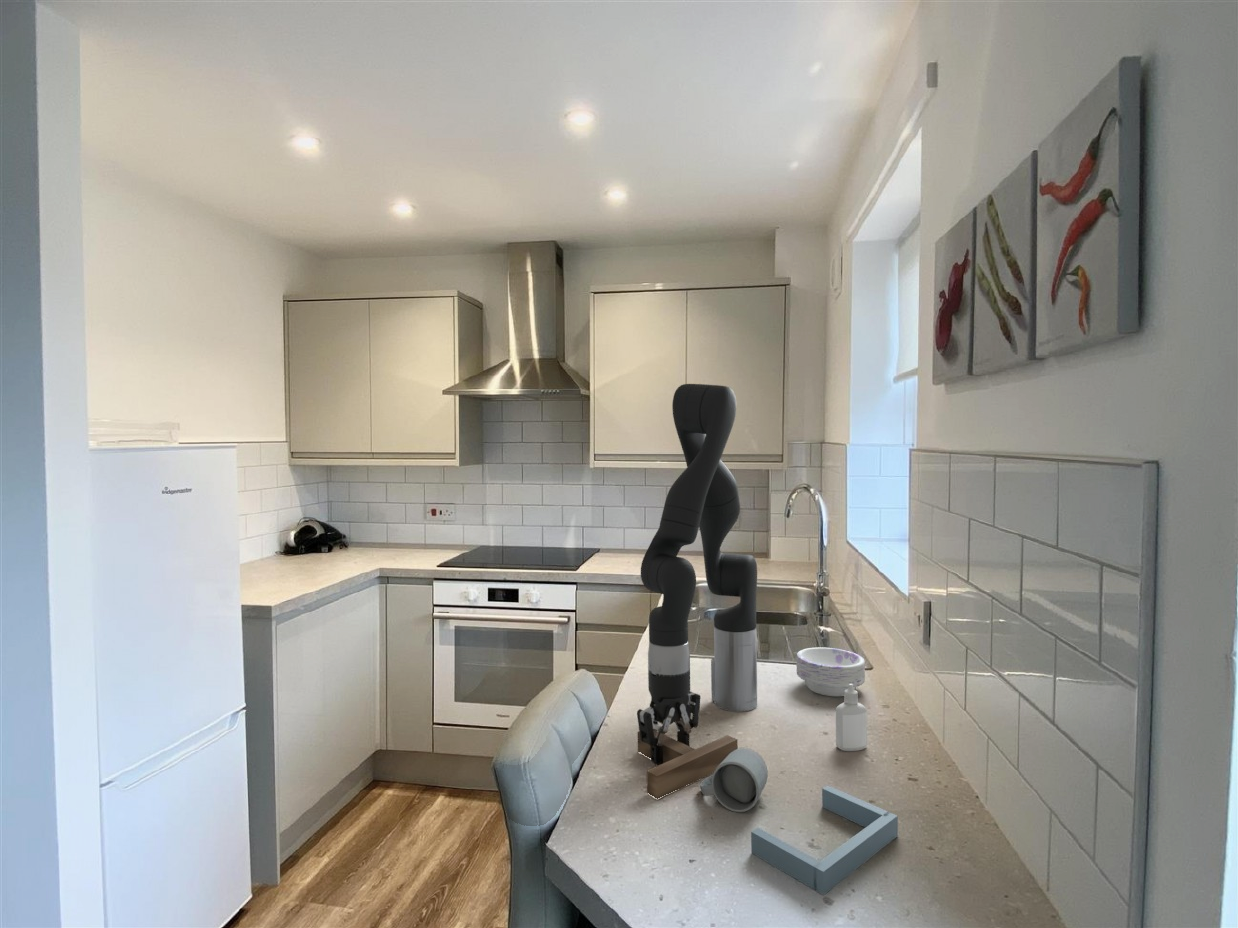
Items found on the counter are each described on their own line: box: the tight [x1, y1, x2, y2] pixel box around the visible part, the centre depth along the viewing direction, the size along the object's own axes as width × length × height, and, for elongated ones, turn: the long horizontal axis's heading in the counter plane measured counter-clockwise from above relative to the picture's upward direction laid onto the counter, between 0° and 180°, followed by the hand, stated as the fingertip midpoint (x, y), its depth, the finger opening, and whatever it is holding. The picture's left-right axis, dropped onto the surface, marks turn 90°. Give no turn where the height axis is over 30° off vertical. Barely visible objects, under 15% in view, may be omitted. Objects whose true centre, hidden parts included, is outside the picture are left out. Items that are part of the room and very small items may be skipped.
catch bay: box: [750, 784, 899, 896], centre depth 93 cm, size 12×19×3 cm, turn 130°
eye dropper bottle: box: [835, 684, 868, 752], centre depth 123 cm, size 4×6×12 cm
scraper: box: [637, 730, 739, 799], centre depth 118 cm, size 14×20×4 cm
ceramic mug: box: [699, 747, 769, 813], centre depth 106 cm, size 11×8×8 cm
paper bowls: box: [795, 646, 866, 697], centre depth 152 cm, size 15×15×8 cm
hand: (670, 758), depth 118 cm, fingers open, 5 cm apart
